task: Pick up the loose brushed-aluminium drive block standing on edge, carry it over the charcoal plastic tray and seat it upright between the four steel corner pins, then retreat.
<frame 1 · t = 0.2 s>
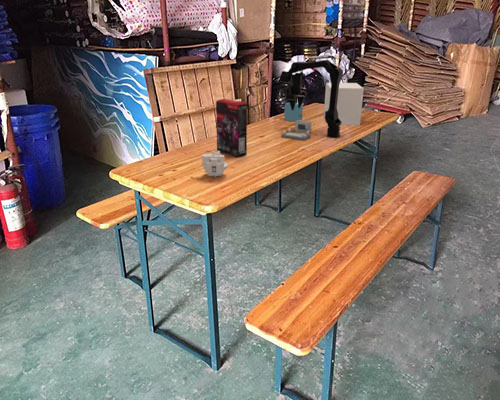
hand: (295, 109, 274), 14 cm above the table, fingers open, 9 cm apart
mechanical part: (215, 176, 199), on the table
graphics card box: (231, 153, 233), on the table
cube: (341, 121, 307), on the table
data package: (292, 121, 306), on the table
drive: (302, 132, 275), on the table
pin tray: (295, 137, 263), on the table
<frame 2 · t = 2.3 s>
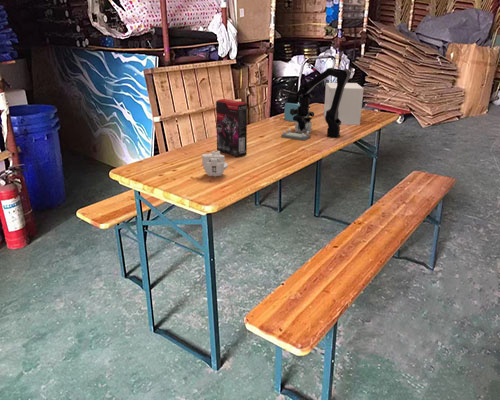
hand: (303, 129, 275), 2 cm above the table, fingers closed on drive, 5 cm apart
drive: (302, 132, 276), on the table, touching gripper
everything else where it was.
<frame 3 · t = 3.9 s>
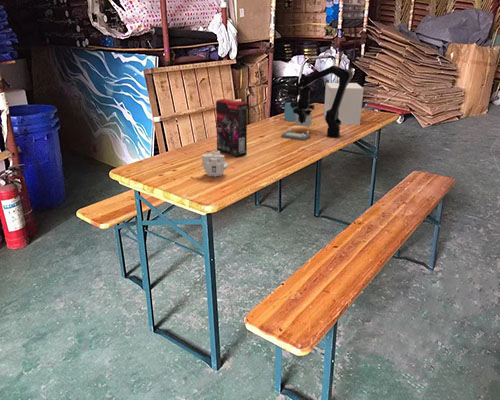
hand: (303, 122, 273), 6 cm above the table, fingers closed on drive, 5 cm apart
drive: (303, 125, 274), point 4 cm above the table, touching gripper
everything else where it was.
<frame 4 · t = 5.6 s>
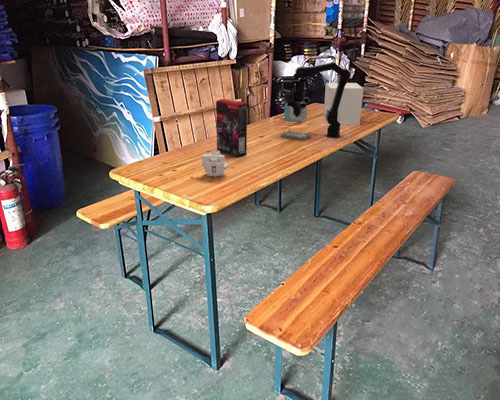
hand: (298, 116, 262), 12 cm above the table, fingers closed on drive, 5 cm apart
drive: (298, 118, 263), point 10 cm above the table, touching gripper
everything else where it was.
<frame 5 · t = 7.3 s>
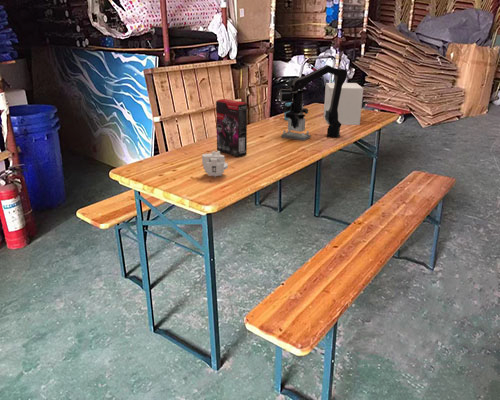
hand: (296, 127, 261), 6 cm above the table, fingers closed on drive, 5 cm apart
drive: (296, 129, 262), point 5 cm above the table, touching gripper
everything else where it was.
when the fingers open (4 cm above the table, at t = 8.6 s): drive stays where it is, resting on pin tray.
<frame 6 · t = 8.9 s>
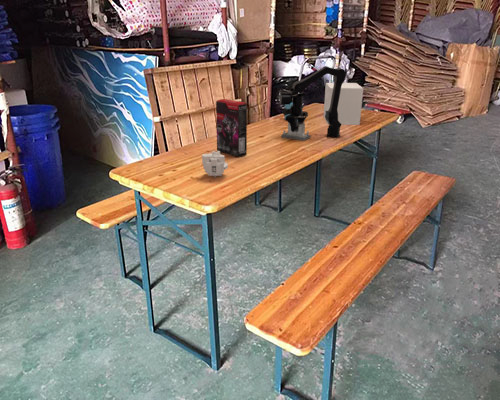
hand: (296, 130, 262), 4 cm above the table, fingers open, 8 cm apart
drive: (295, 134, 263), point 2 cm above the table, touching pin tray
everything else where it was.
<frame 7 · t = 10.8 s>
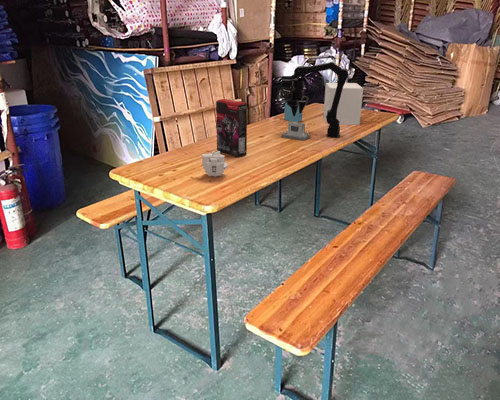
hand: (297, 114, 266), 12 cm above the table, fingers open, 9 cm apart
nothing on the table moved.
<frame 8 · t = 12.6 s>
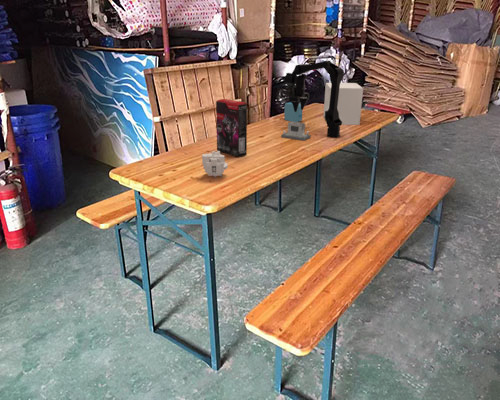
hand: (298, 110, 278), 12 cm above the table, fingers open, 9 cm apart
nothing on the table moved.
at the end: drive 0.1 cm off-centre on the pin tray, point 1.7 cm above the pin tray's base; drive tilted 0°; the gripper is holding nothing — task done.
